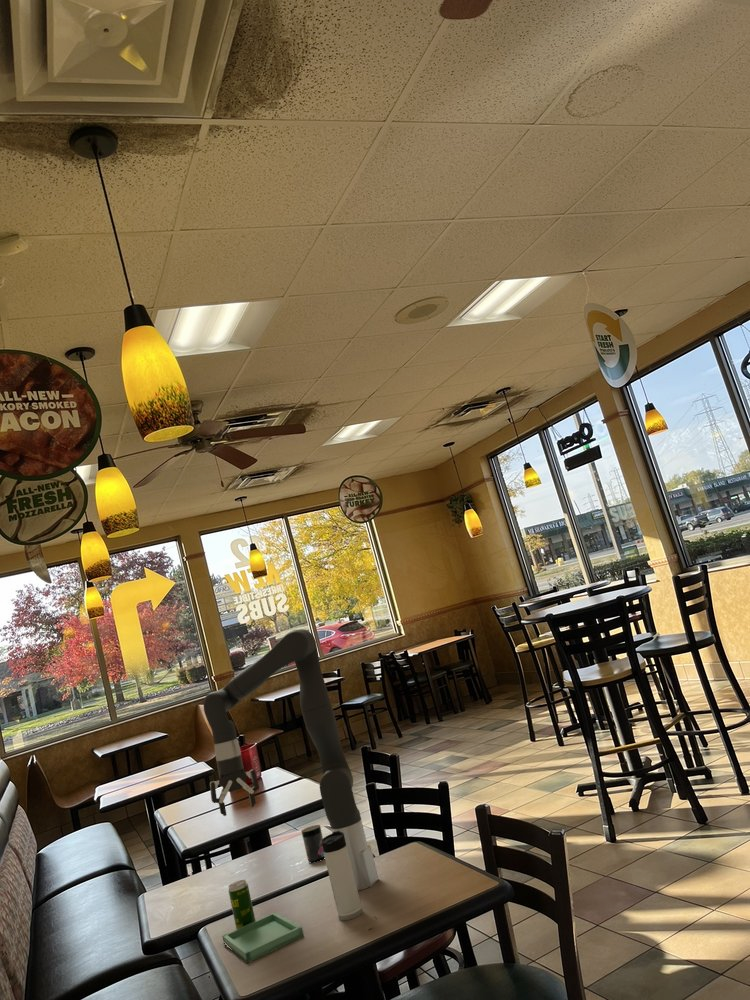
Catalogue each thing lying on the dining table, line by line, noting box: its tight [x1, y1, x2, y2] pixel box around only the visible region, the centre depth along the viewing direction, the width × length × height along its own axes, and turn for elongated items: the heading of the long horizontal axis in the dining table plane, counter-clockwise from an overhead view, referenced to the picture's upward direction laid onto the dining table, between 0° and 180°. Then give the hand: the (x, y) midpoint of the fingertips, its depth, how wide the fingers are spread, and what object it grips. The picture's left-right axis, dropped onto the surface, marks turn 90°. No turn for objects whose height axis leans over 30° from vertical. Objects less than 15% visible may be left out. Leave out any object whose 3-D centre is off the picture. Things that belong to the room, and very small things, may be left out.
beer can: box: [228, 879, 257, 930], centre depth 199 cm, size 5×5×12 cm
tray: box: [221, 911, 305, 964], centre depth 187 cm, size 20×15×2 cm
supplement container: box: [301, 824, 325, 864], centre depth 249 cm, size 7×7×10 cm
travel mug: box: [321, 831, 363, 921], centre depth 190 cm, size 6×7×20 cm
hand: (238, 811), depth 220 cm, fingers open, 8 cm apart
